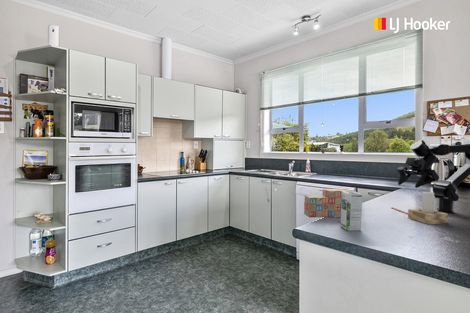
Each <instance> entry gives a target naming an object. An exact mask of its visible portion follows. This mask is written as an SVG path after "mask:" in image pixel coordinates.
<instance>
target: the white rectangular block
mask: <svg viewBox="0 0 470 313" xmlns="http://www.w3.org/2000/svg"><path fill="white" fill-rule="evenodd" d="M434 208H435V196H434V193H433V191H432V192H431V191H423V192H422V194H421V209H422V212H425V213H434V211H435V209H434Z"/></svg>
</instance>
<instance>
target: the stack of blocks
mask: <svg viewBox="0 0 470 313" xmlns="http://www.w3.org/2000/svg"><path fill="white" fill-rule="evenodd" d="M342 191H352V189H347V188H323V189H322V193H321V194H318V195H317V194H314V195H313V194H308V195H304V201H303V202H304V206H303V209H304V210H303V215H305V216H306V217H308V218H341V204H342Z"/></svg>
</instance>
